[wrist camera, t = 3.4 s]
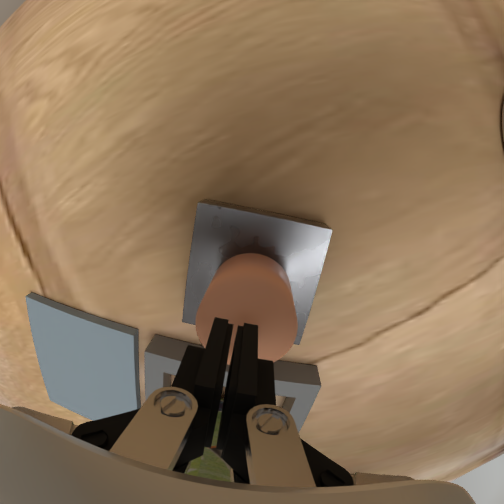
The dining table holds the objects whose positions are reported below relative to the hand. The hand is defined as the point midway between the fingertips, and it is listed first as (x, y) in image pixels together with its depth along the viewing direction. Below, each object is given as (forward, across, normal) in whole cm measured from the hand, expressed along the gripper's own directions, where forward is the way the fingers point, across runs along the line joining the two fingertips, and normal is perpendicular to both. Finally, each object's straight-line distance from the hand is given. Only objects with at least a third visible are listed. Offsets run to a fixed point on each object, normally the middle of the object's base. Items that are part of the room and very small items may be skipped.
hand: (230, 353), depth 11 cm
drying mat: (+10, +13, +14) cm, 21 cm away
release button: (+6, -1, 0) cm, 6 cm away
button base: (+9, -1, 0) cm, 9 cm away
